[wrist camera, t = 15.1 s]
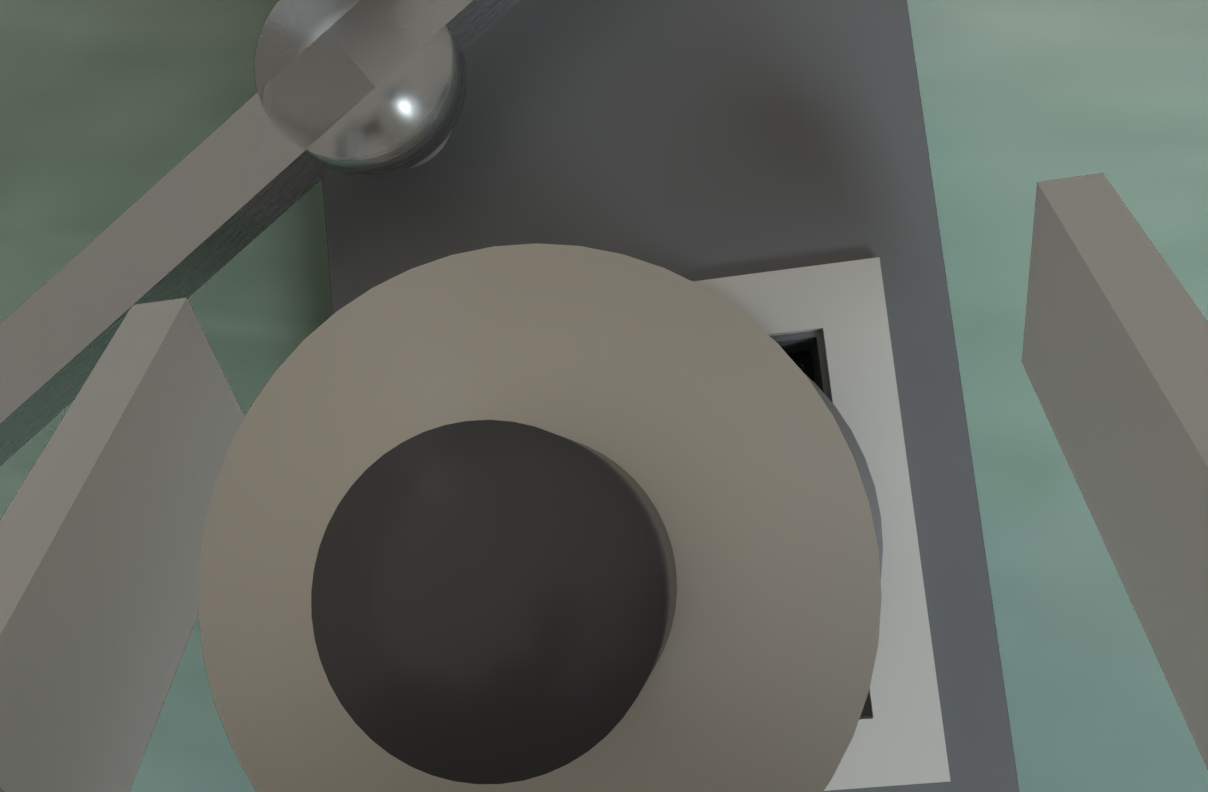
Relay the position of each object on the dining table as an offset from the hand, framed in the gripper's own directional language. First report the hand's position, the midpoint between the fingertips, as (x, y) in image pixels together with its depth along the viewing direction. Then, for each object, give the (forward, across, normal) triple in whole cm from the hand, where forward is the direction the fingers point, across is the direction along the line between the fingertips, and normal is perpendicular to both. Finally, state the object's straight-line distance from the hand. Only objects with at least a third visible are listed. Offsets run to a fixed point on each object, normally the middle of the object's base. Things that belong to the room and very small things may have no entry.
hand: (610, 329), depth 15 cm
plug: (+1, 0, +6) cm, 6 cm away
